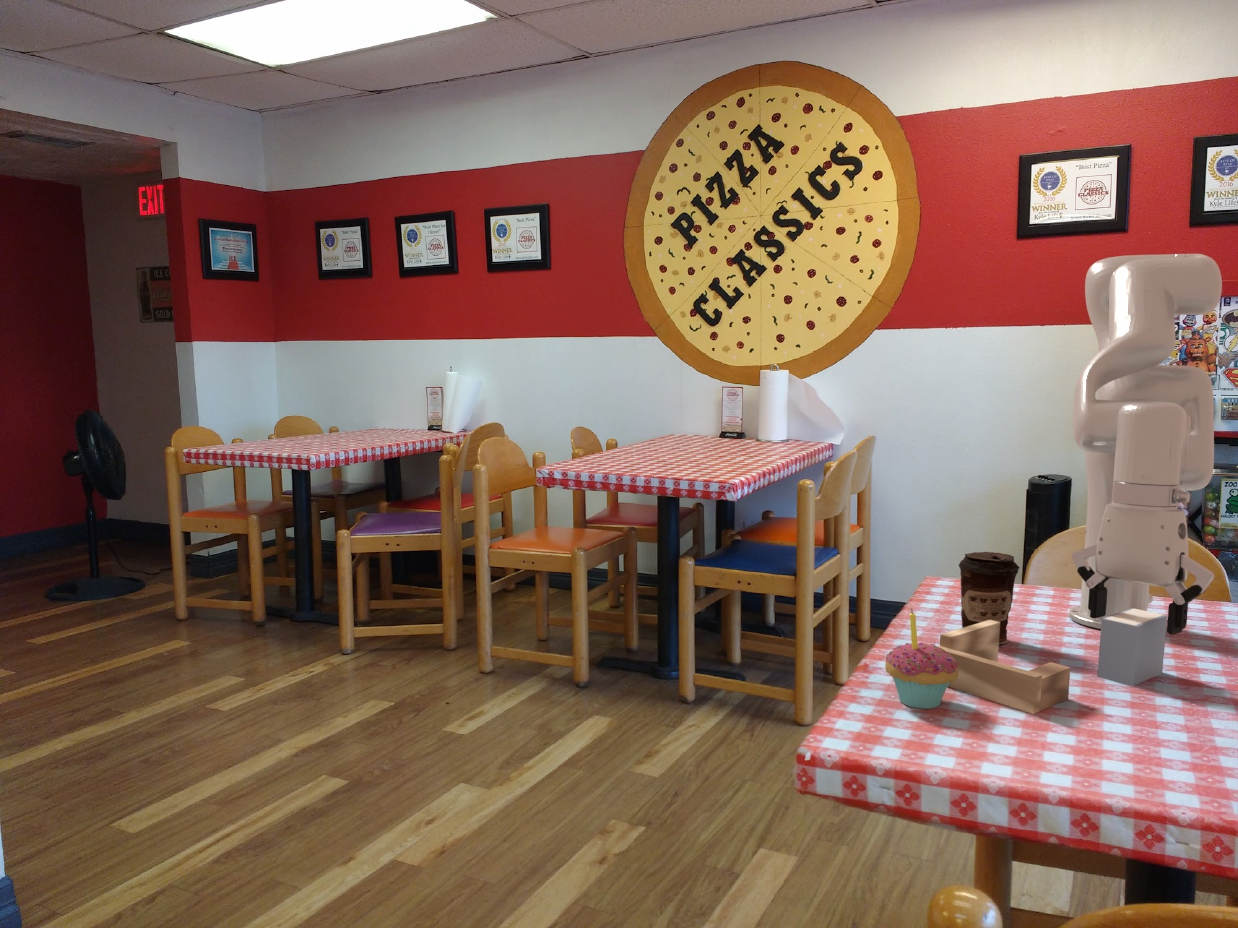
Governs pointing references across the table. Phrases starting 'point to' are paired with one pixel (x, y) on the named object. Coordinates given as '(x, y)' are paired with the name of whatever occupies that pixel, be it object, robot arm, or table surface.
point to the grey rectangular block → (1132, 646)
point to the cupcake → (920, 671)
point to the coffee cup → (987, 589)
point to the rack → (1002, 671)
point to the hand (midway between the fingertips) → (1134, 624)
